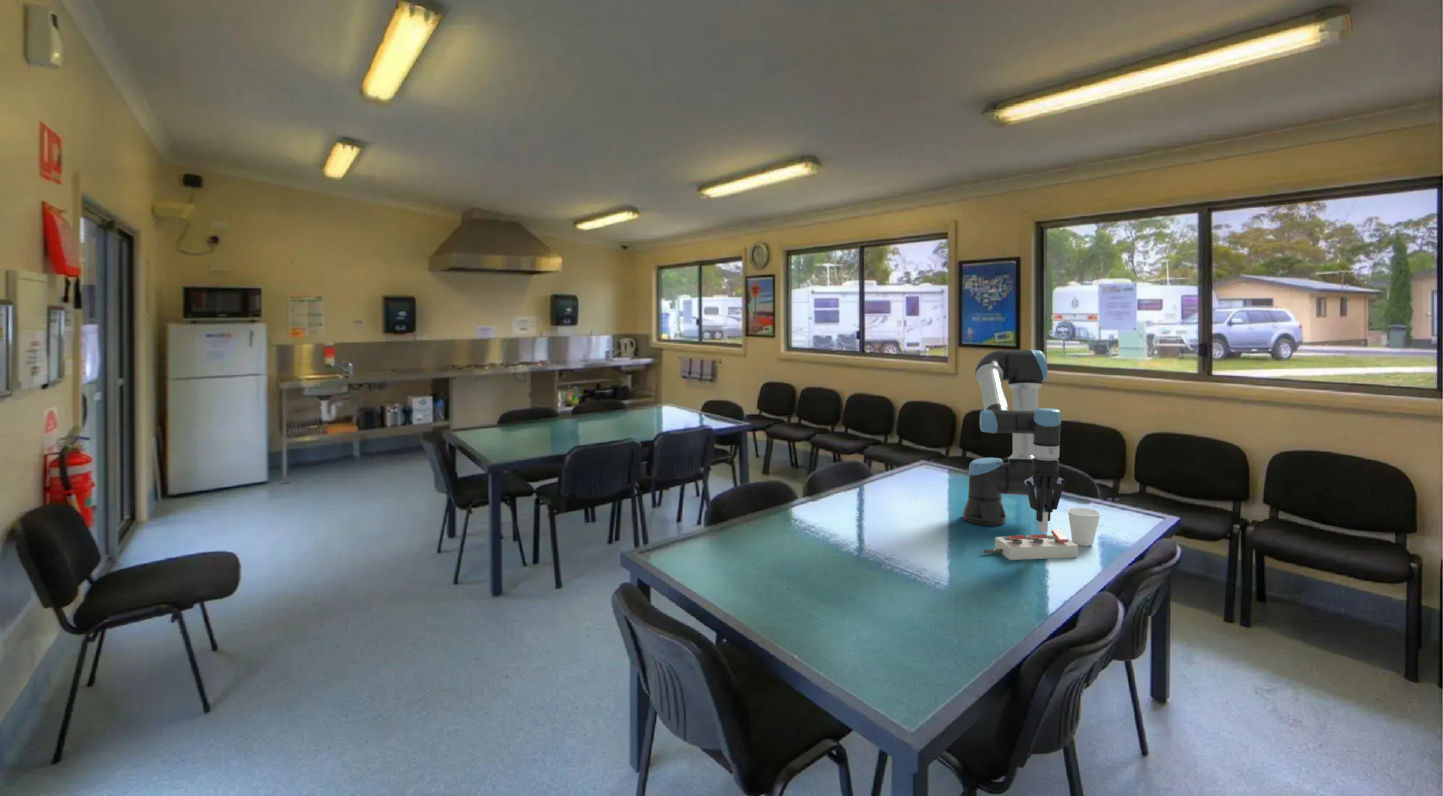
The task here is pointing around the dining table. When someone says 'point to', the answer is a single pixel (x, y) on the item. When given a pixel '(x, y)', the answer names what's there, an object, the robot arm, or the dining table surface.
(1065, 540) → the rocker
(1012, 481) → the robot arm
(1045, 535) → the rocker
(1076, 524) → the cup
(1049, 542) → the strip
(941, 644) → the dining table surface
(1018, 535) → the rocker
